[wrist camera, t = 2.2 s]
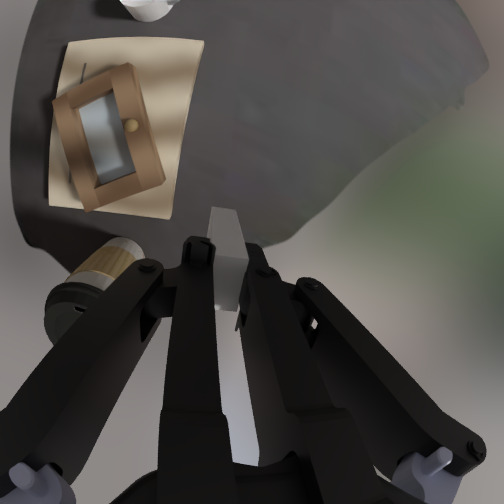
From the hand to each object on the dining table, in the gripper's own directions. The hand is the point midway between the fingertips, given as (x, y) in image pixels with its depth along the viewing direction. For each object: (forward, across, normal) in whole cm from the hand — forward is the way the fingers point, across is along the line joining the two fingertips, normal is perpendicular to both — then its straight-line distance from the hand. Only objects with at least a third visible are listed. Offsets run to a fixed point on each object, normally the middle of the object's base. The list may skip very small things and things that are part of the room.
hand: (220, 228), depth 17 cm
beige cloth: (+14, -13, +6) cm, 20 cm away
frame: (+12, -12, +4) cm, 18 cm away
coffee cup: (+15, -11, -12) cm, 22 cm away
